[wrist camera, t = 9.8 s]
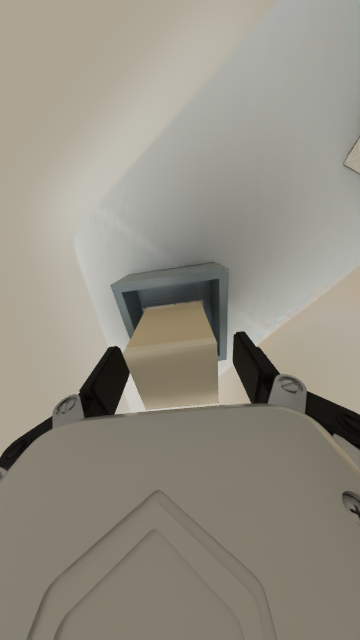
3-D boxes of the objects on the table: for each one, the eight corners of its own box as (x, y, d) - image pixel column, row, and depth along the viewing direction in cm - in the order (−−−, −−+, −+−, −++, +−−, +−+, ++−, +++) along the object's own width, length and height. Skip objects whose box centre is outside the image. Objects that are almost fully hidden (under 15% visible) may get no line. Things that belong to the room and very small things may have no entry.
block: (196, 286, 18) (202, 300, 14) (200, 327, 21) (206, 348, 16) (150, 293, 18) (142, 308, 14) (160, 332, 21) (155, 354, 17)
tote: (214, 262, 18) (228, 268, 13) (216, 335, 23) (226, 359, 18) (128, 274, 18) (110, 285, 13) (148, 343, 23) (141, 369, 18)
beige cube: (200, 302, 14) (217, 343, 8) (204, 347, 16) (218, 402, 11) (145, 310, 14) (122, 354, 8) (157, 352, 17) (146, 409, 11)
